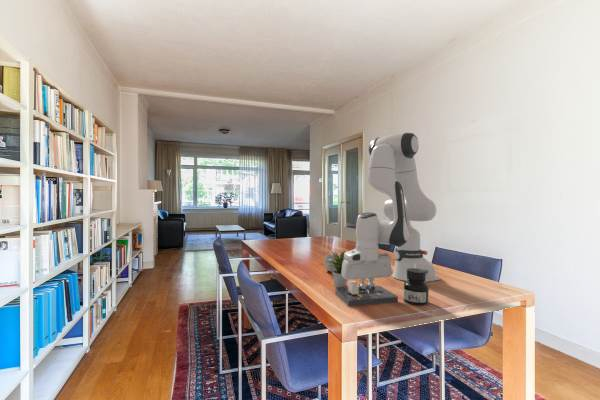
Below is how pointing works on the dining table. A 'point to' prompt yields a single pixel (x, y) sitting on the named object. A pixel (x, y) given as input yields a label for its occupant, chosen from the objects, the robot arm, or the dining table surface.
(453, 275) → the dining table surface
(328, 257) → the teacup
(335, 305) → the dining table surface
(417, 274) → the ink bottle
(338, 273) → the house plant
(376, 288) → the console
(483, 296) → the dining table surface
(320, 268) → the dining table surface
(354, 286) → the fader cap
